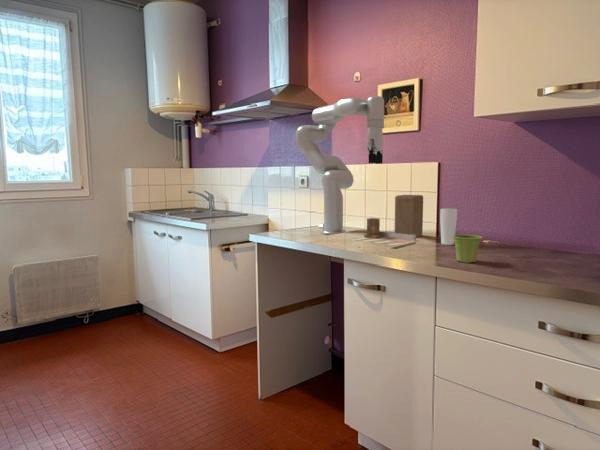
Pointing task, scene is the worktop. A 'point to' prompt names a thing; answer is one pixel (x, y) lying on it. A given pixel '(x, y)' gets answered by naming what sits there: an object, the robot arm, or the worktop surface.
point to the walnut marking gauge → (373, 228)
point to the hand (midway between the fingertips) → (375, 163)
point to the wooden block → (409, 214)
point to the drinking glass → (448, 225)
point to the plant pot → (466, 247)
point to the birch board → (391, 239)
